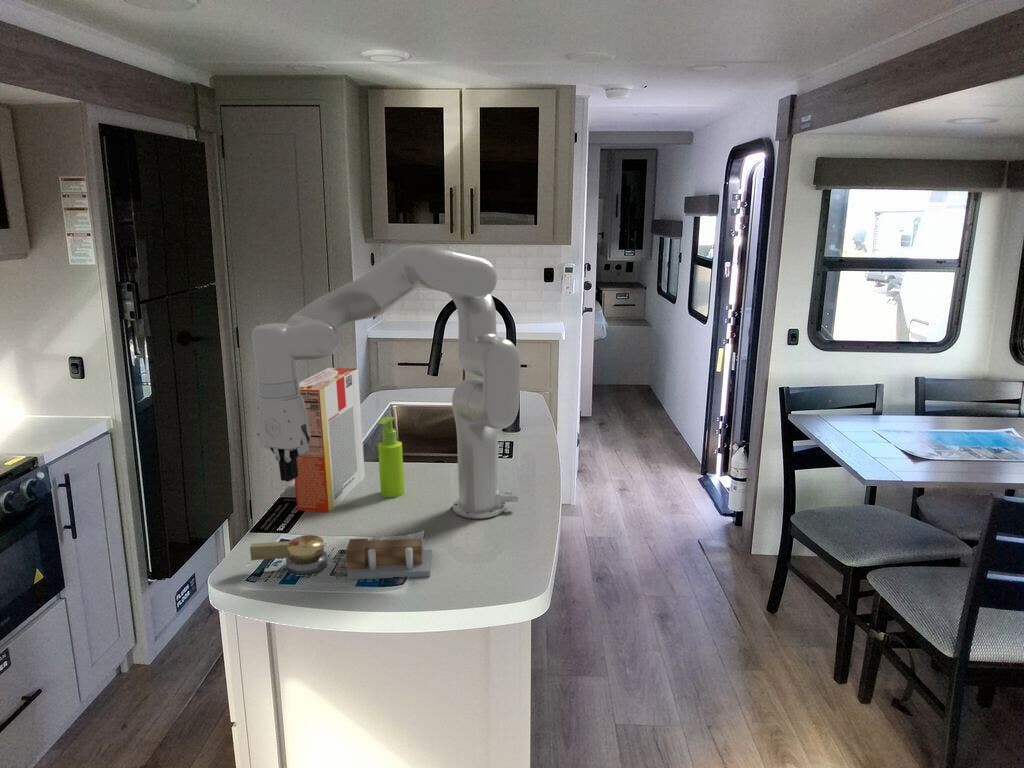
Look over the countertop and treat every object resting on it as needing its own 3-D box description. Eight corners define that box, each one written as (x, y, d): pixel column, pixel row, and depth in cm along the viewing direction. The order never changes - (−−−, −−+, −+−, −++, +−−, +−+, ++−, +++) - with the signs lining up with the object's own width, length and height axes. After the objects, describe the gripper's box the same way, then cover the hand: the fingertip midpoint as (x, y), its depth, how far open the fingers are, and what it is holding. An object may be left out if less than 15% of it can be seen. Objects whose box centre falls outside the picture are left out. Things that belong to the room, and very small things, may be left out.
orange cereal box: (336, 476, 195) (328, 367, 188) (364, 477, 193) (357, 368, 186) (297, 510, 173) (286, 389, 166) (328, 512, 171) (319, 390, 164)
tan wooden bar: (423, 554, 147) (422, 536, 146) (421, 566, 142) (420, 548, 141) (351, 557, 146) (349, 539, 146) (347, 569, 141) (345, 550, 140)
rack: (432, 554, 150) (431, 531, 148) (429, 576, 141) (428, 552, 140) (354, 557, 149) (352, 534, 148) (347, 579, 140) (345, 555, 139)
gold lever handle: (326, 545, 149) (325, 531, 148) (321, 561, 142) (320, 547, 141) (256, 550, 147) (254, 536, 146) (248, 566, 140) (246, 552, 139)
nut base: (331, 556, 149) (330, 547, 149) (323, 575, 142) (322, 566, 141) (271, 558, 149) (270, 549, 148) (260, 577, 141) (259, 568, 141)
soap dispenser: (374, 497, 180) (369, 420, 175) (388, 487, 186) (384, 413, 181) (394, 500, 178) (390, 423, 173) (408, 490, 184) (404, 415, 179)
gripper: (235, 390, 137) (247, 480, 142) (295, 397, 131) (306, 491, 135) (264, 381, 144) (274, 467, 148) (323, 387, 137) (332, 477, 142)
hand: (289, 478), depth 142 cm, fingers closed
